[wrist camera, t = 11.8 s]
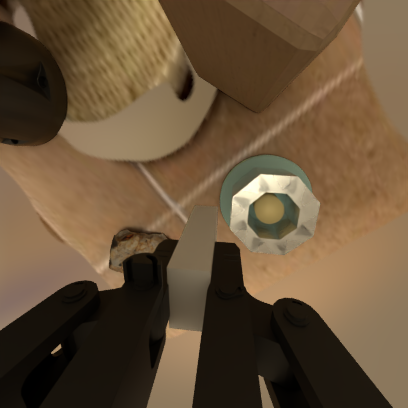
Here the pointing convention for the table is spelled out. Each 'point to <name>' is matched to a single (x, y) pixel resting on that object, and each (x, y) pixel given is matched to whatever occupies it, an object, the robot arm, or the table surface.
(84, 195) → the table surface
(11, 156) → the table surface
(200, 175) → the table surface
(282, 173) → the collar ring
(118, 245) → the rock
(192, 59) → the wooden block
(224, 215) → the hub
